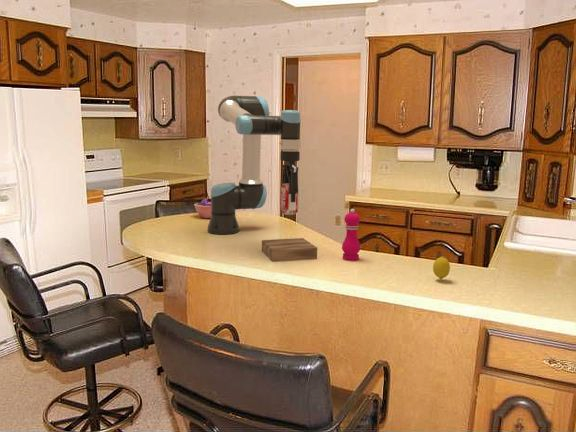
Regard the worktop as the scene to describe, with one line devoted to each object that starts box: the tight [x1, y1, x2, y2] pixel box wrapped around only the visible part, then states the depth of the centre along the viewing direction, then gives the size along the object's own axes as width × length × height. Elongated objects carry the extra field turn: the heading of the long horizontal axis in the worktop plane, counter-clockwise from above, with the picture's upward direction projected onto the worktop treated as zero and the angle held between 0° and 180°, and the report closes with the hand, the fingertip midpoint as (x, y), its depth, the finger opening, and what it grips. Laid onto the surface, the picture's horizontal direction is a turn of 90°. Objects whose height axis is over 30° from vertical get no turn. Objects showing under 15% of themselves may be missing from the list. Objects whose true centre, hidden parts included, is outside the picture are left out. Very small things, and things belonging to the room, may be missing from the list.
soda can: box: [280, 183, 299, 216], centre depth 200 cm, size 7×7×12 cm
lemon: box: [432, 256, 451, 280], centre depth 172 cm, size 6×6×8 cm
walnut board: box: [261, 237, 318, 263], centre depth 203 cm, size 18×18×5 cm
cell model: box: [193, 198, 211, 220], centre depth 280 cm, size 17×20×11 cm
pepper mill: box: [341, 208, 361, 262], centre depth 197 cm, size 7×7×20 cm
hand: (289, 208), depth 200 cm, fingers closed on soda can, 7 cm apart
